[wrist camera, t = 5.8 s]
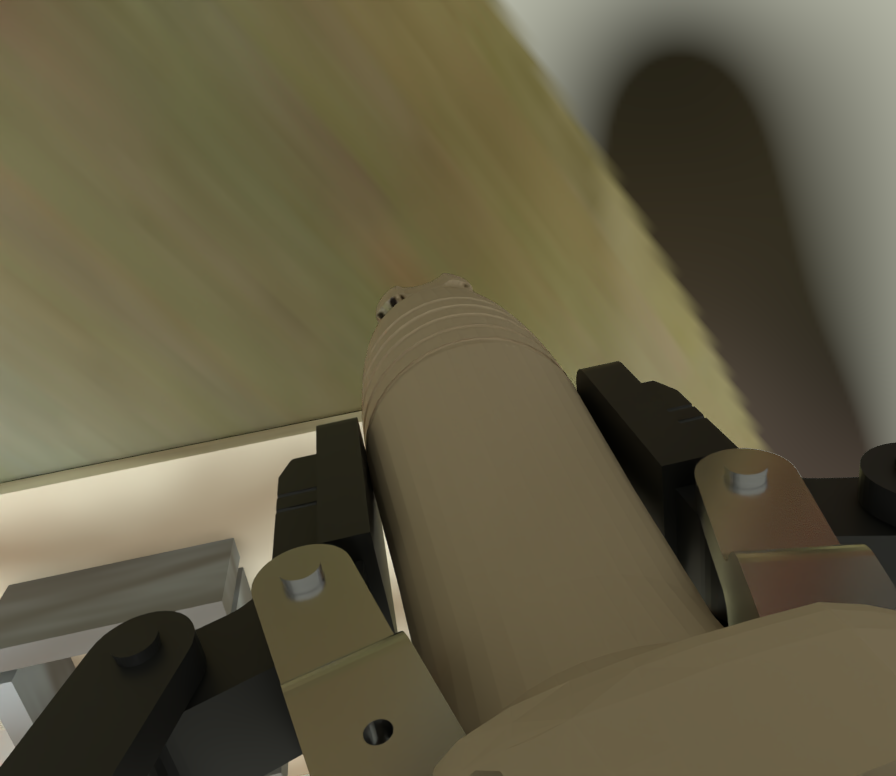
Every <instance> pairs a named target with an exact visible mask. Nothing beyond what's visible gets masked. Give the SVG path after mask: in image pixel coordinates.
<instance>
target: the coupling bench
mask: <svg viewBox="0 0 896 776" xmlns="http://www.w3.org/2000/svg"><path fill="white" fill-rule="evenodd" d="M355 417H357V418H358V422H359V425H360V429H361V433H362V438H363V442H364V434H363V425H362V411H359V412H354V413H349V414H344V415H339V416H334V417H329V418H324V419H319V420H314V421H309V422H304V423H299V424H294V425H289V426H284V427H279V428H274V429H269V430H264V431H259V432H254V433H249V434H244V435H239V436H234V437H229V438H224V439H219V440H214V441H209V442H204V443H199V444H194V445H189V446H184V447H179V448H174V449H169V450H164V451H159V452H154V453H150V454H145V455H140V456H135V457H130V458H125V459H120V460H115V461H110V462H105V463H100V464H95V465H90V466H85V467H80V468H75V469H70V470H65V471H60V472H55V473H50V474H45V475H40V476H35V477H30V478H25V479H20V480H15V481H10V482H5V483H0V720H1V722H2V724H3V726H4V728H5V729H6V731H7V733H8V735H9V737H10V739H11V740H12V742H13V744H14V746H15V747H16V746H17V744H18V743H19V742H20V740H21V739H22V738H23V736H24V735H25V734H26V732H27V731H28V730H29V729H30V727H31V726H32V725H33V723H34V722H35V721H36V719H37V718H38V717H39V716H40V714H41V713H42V712H43V710H44V709H45V708H46V706H47V705H48V704H49V702H50V701H51V700H52V699H53V697H54V696H55V695H56V693H57V692H58V691H59V689H60V688H61V687H62V685H63V684H64V683H65V682H66V680H67V679H68V678H69V676H70V675H71V674H72V672H73V671H74V670H75V668H76V667H77V666H78V665H79V663H80V662H81V661H82V659H83V658H84V657H85V655H86V654H87V653H88V651H89V650H90V649H91V648H92V647H93V645H94V644H95V643H96V642H97V641H98V640H99V639H100V638H102V637H103V636H104V635H105V634H106V633H108V632H109V631H110V630H112V629H113V628H115V627H117V626H118V625H120V624H122V623H124V622H126V621H127V620H129V619H132V618H134V617H137V616H140V615H143V614H146V613H150V612H156V611H175V612H179V613H182V614H184V615H186V616H187V617H188V618H189V619H190V620H191V621H192V623H193V625H194V627H195V630H196V629H198V628H201V627H203V626H205V625H207V624H209V623H211V622H214V621H216V620H218V619H220V618H222V617H224V616H226V615H228V614H230V613H232V612H234V611H236V610H237V609H239V608H241V607H242V606H244V605H245V604H246V603H248V602H249V601H250V600H251V599H252V593H251V587H252V583H253V580H254V578H255V577H256V575H257V573H258V572H259V571H260V570H261V569H262V567H264V566H265V565H266V564H267V563H268V562H269V561H271V560H272V553H273V541H274V528H275V515H276V503H277V499H278V497H277V490H278V477H279V476H280V475H281V473H282V472H283V471H284V469H285V468H286V466H287V465H288V464H289V462H290V461H291V460H292V459H295V458H300V457H304V456H309V455H313V454H316V426H318V425H322V424H327V423H332V422H336V421H341V420H345V419H350V418H355ZM364 446H365V442H364ZM382 528H383V526H382ZM383 535H384V541H385V548H386V555H387V562H388V569H389V576H390V583H391V589H392V596H393V603H394V610H395V617H396V624H397V631H398V632H399V631H404V632H405V633H406V635H407V636H408V637H409V639H410V641H411V638H410V634H409V630H408V625H407V621H406V617H405V612H404V608H403V604H402V600H401V595H400V591H399V587H398V583H397V579H396V575H395V572H394V568H393V564H392V560H391V556H390V553H389V549H388V545H387V541H386V537H385V533H384V530H383ZM305 774H309V771H308V768H307V765H306V762H305V759H304V756H303V754H302V755H301V756H299V757H297V758H295V759H293V760H292V761H290V762H288V763H286V764H284V765H283V766H281V767H279V768H277V769H276V770H274V771H272V772H270V773H268V774H267V775H265V776H301V775H305Z"/></svg>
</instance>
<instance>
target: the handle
mask: <svg viewBox="0 0 896 776" xmlns="http://www.w3.org/2000/svg"><path fill="white" fill-rule="evenodd" d="M376 318H377V321H378V325H377V327H376V329H375V331H374V333H373V335H372V338H371V340H370V342H369V346H368V350H367V354H366V359H365V364H364V371H363V383H362V425H363V434H364V442H365V450H366V454H367V463H368V468H369V473H370V479H371V484H372V488H373V491H374V495H375V499H376V503H377V507H378V510H379V514H380V518H381V522H382V526H383V530H384V533H385V537H386V541H387V545H388V549H389V553H390V556H391V560H392V564H393V568H394V572H395V575H396V579H397V583H398V587H399V591H400V595H401V600H402V604H403V608H404V612H405V617H406V621H407V625H408V630H409V634H410V638H411V642H412V644H413V645H414V647H415V649H416V651H417V652H418V654H419V656H420V657H421V659H422V661H423V662H424V664H425V666H426V668H427V669H428V671H429V673H430V674H431V676H432V678H433V679H434V681H435V683H436V685H437V686H438V688H439V690H440V691H441V693H442V695H443V696H444V698H445V700H446V702H447V703H448V705H449V707H450V708H451V710H452V712H453V713H454V715H455V717H456V719H457V720H458V722H459V724H460V725H461V727H462V729H463V730H464V732H465V734H466V736H464V737H463V738H461V739H460V740H458V741H457V742H456V743H455V744H454V746H453V747H452V748H451V749H450V750H449V751H448V752H447V754H446V755H445V756H444V757H443V758H442V759H441V760H440V761H439V763H438V764H437V765H436V766H435V767H434V771H433V776H896V610H891V609H886V608H881V607H875V606H870V605H865V604H847V603H827V602H817V603H813V604H809V605H806V606H802V607H798V608H794V609H791V610H787V611H783V612H779V613H775V614H772V615H768V616H764V617H760V618H756V619H753V620H749V621H746V622H743V623H739V624H736V625H732V626H729V627H725V628H724V627H723V626H722V625H721V623H720V622H719V621H718V620H717V619H716V618H715V617H714V615H713V614H712V613H711V611H710V610H709V608H708V607H707V605H706V603H705V602H704V600H703V599H702V597H701V595H700V594H699V592H698V591H697V589H696V587H695V586H694V584H693V583H692V581H691V579H690V578H689V576H688V575H687V573H686V571H685V570H684V568H683V567H682V565H681V563H680V562H679V560H678V559H677V557H676V555H675V554H674V552H673V551H672V549H671V547H670V546H669V544H668V543H667V541H666V539H665V538H664V536H663V535H662V533H661V531H660V530H659V528H658V527H657V525H656V523H655V522H654V520H653V519H652V517H651V516H650V514H649V512H648V511H647V509H646V508H645V506H644V504H643V503H642V501H641V500H640V498H639V496H638V495H637V493H636V492H635V490H634V488H633V486H632V485H631V483H630V481H629V480H628V478H627V476H626V474H625V473H624V471H623V469H622V468H621V466H620V464H619V462H618V461H617V459H616V457H615V456H614V454H613V452H612V450H611V449H610V447H609V445H608V444H607V442H606V440H605V438H604V437H603V435H602V433H601V432H600V430H599V428H598V426H597V425H596V423H595V421H594V419H593V418H592V416H591V414H590V413H589V411H588V409H587V407H586V406H585V404H584V402H583V401H582V399H581V397H580V395H579V394H578V392H577V390H576V389H575V387H574V385H573V384H572V382H571V380H570V379H569V378H568V377H567V375H566V373H565V372H564V371H563V369H562V368H561V367H560V365H559V364H558V363H557V362H556V360H555V359H554V358H553V356H552V355H551V354H550V353H549V351H548V350H547V349H546V348H545V347H544V346H543V344H542V343H541V342H540V341H539V340H538V339H537V338H536V337H535V336H534V335H533V334H532V333H531V332H530V331H529V330H528V329H527V328H526V327H525V326H524V325H523V324H522V323H521V322H520V321H518V320H517V319H516V318H515V317H514V316H512V315H511V314H510V313H509V312H507V311H506V310H505V309H503V308H502V307H501V306H499V305H498V304H496V303H494V302H493V301H491V300H489V299H487V298H485V297H483V296H481V295H479V294H477V293H475V292H474V291H473V290H472V286H471V284H470V283H468V282H467V281H466V280H465V279H463V278H461V277H458V276H456V275H453V274H448V273H443V274H441V275H440V277H439V278H437V279H435V280H433V281H432V282H429V283H427V284H424V285H421V286H416V287H411V288H402V287H399V286H395V287H393V288H391V289H390V290H389V291H388V292H386V293H385V294H384V296H383V297H382V298H381V299H380V301H379V303H378V306H377V308H376Z"/></svg>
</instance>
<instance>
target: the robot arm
mask: <svg viewBox="0 0 896 776" xmlns="http://www.w3.org/2000/svg"><path fill="white" fill-rule="evenodd" d="M576 384H577V392H578V394H579V395H580V397H581V399H582V401H583V402H584V404H585V406H586V407H587V409H588V411H589V413H590V414H591V416H592V418H593V419H594V421H595V423H596V425H597V426H598V428H599V430H600V432H601V433H602V435H603V437H604V438H605V440H606V442H607V444H608V445H609V447H610V449H611V450H612V452H613V454H614V456H615V457H616V459H617V461H618V462H619V464H620V466H621V468H622V469H623V471H624V473H625V474H626V476H627V478H628V480H629V481H630V483H631V485H632V486H633V488H634V490H635V492H636V493H637V495H638V496H639V498H640V500H641V501H642V503H643V504H644V506H645V508H646V509H647V511H648V512H649V514H650V516H651V517H652V519H653V520H654V522H655V523H656V525H657V527H658V528H659V530H660V531H661V533H662V535H663V536H664V538H665V539H666V541H667V543H668V544H669V546H670V547H671V549H672V551H673V552H674V554H675V555H676V557H677V559H678V560H679V562H680V563H681V565H682V567H683V568H684V570H685V571H686V573H687V575H688V576H689V578H690V579H691V581H692V583H693V584H694V586H695V587H696V589H697V591H698V592H699V594H700V595H701V597H702V599H703V600H704V602H705V603H706V605H707V607H708V608H709V610H710V611H711V613H712V614H713V615H714V617H715V618H716V619H717V620H718V621H719V622H720V623H721V625H722V626H723V627H724V628H725V627H729V626H732V625H736V624H739V623H743V622H746V621H749V620H753V619H756V618H760V617H764V616H768V615H772V614H775V613H779V612H783V611H787V610H791V609H794V608H798V607H802V606H806V605H809V604H813V603H817V602H827V603H847V604H865V605H870V606H875V607H881V608H886V609H891V610H896V443H889V444H884V445H880V446H877V447H874V448H872V449H870V450H869V451H867V452H866V453H865V454H864V455H863V456H862V458H861V460H860V470H859V477H853V478H802V477H801V476H800V474H799V472H798V471H797V469H796V468H795V467H794V465H793V464H792V463H790V462H789V461H788V460H786V459H785V458H783V457H781V456H779V455H776V454H774V453H771V452H767V451H763V450H757V449H748V448H738V447H737V446H736V445H735V444H734V443H732V442H731V441H730V440H729V439H728V438H727V437H726V436H725V435H724V434H723V433H722V432H721V431H720V430H719V429H718V428H717V427H716V426H715V425H713V424H712V423H711V422H710V421H709V420H708V419H707V418H704V416H703V414H702V413H701V412H700V411H699V410H698V409H697V408H695V407H692V404H691V403H690V402H689V401H688V400H687V399H686V398H685V397H684V396H683V395H682V394H681V393H680V392H679V391H677V390H675V389H673V388H670V387H668V386H665V385H663V384H660V383H658V382H655V381H649V382H645V383H641V382H640V381H639V380H638V379H637V378H636V377H635V376H634V375H633V374H632V373H631V372H630V371H629V370H628V369H627V368H626V367H625V366H624V365H623V364H622V363H621V362H619V361H617V362H612V363H607V364H603V365H598V366H593V367H589V368H584V369H579V370H578V372H577V377H576ZM277 497H278V499H277V503H276V515H275V528H274V541H273V553H272V560H271V561H269V562H268V563H267V564H266V565H265V566H264V567H262V569H261V570H260V571H259V572H258V573H257V575H256V577H255V578H254V580H253V583H252V587H251V593H252V599H251V600H250V601H249V602H248V603H246V604H245V605H244V606H242V607H241V608H239V609H237V610H236V611H234V612H232V613H230V614H228V615H226V616H224V617H222V618H220V619H218V620H216V621H214V622H211V623H209V624H207V625H205V626H203V627H201V628H198V629H196V630H195V627H194V625H193V623H192V621H191V620H190V619H189V618H188V617H187V616H186V615H184V614H182V613H179V612H175V611H156V612H150V613H146V614H143V615H140V616H137V617H134V618H132V619H129V620H127V621H126V622H124V623H122V624H120V625H118V626H117V627H115V628H113V629H112V630H110V631H109V632H108V633H106V634H105V635H104V636H103V637H102V638H100V639H99V640H98V641H97V642H96V643H95V644H94V645H93V647H92V648H91V649H90V650H89V651H88V653H87V654H86V655H85V657H84V658H83V659H82V661H81V662H80V663H79V665H78V666H77V667H76V668H75V670H74V671H73V672H72V674H71V675H70V676H69V678H68V679H67V680H66V682H65V683H64V684H63V685H62V687H61V688H60V689H59V691H58V692H57V693H56V695H55V696H54V697H53V699H52V700H51V701H50V702H49V704H48V705H47V706H46V708H45V709H44V710H43V712H42V713H41V714H40V716H39V717H38V718H37V719H36V721H35V722H34V723H33V725H32V726H31V727H30V729H29V730H28V731H27V732H26V734H25V735H24V736H23V738H22V739H21V740H20V742H19V743H18V744H17V746H16V747H15V748H14V749H13V751H12V752H11V753H10V755H9V756H8V757H7V759H6V760H5V761H4V763H3V764H2V765H1V766H0V776H265V775H267V774H268V773H270V772H272V771H274V770H276V769H277V768H279V767H281V766H283V765H284V764H286V763H288V762H290V761H292V760H293V759H295V758H297V757H299V756H301V755H302V754H303V756H304V759H305V762H306V765H307V768H308V771H309V774H310V776H433V771H434V767H435V766H436V765H437V764H438V763H439V761H440V760H441V759H442V758H443V757H444V756H445V755H446V754H447V752H448V751H449V750H450V749H451V748H452V747H453V746H454V744H455V743H456V742H457V741H458V740H460V739H461V738H463V737H464V736H466V734H465V732H464V730H463V729H462V727H461V725H460V724H459V722H458V720H457V719H456V717H455V715H454V713H453V712H452V710H451V708H450V707H449V705H448V703H447V702H446V700H445V698H444V696H443V695H442V693H441V691H440V690H439V688H438V686H437V685H436V683H435V681H434V679H433V678H432V676H431V674H430V673H429V671H428V669H427V668H426V666H425V664H424V662H423V661H422V659H421V657H420V656H419V654H418V652H417V651H416V649H415V647H414V645H413V644H412V642H411V641H410V639H409V637H408V636H407V635H406V633H405V632H404V631H399V632H398V631H397V624H396V617H395V610H394V603H393V596H392V589H391V583H390V576H389V569H388V562H387V555H386V548H385V541H384V535H383V528H382V522H381V518H380V514H379V510H378V507H377V503H376V499H375V495H374V491H373V488H372V484H371V479H370V473H369V468H368V463H367V454H366V450H365V446H364V442H363V438H362V433H361V429H360V425H359V422H358V418H357V417H355V418H350V419H345V420H341V421H336V422H332V423H327V424H322V425H318V426H316V454H313V455H309V456H304V457H300V458H295V459H292V460H291V461H290V462H289V464H288V465H287V466H286V468H285V469H284V471H283V472H282V473H281V475H280V476H279V477H278V490H277Z"/></svg>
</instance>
